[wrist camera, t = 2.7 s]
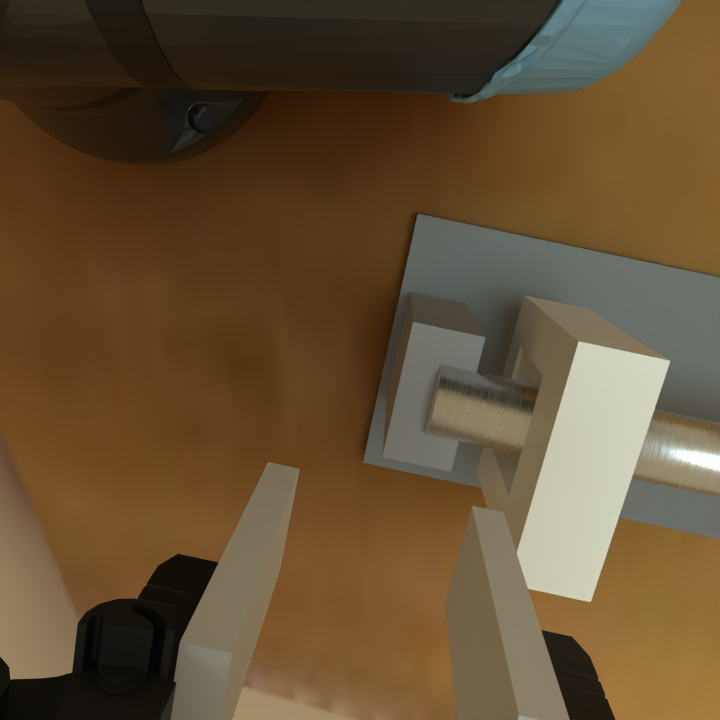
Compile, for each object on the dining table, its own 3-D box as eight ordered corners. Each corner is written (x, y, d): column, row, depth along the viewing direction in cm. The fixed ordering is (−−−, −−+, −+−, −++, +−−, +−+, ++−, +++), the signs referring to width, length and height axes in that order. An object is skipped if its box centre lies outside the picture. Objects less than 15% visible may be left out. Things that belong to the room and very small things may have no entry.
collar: (476, 471, 34) (507, 584, 24) (524, 295, 32) (578, 341, 22) (536, 483, 34) (590, 602, 24) (587, 308, 32) (670, 360, 22)
